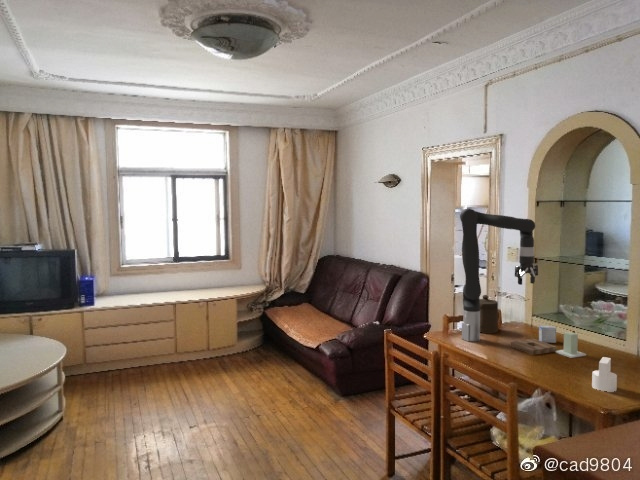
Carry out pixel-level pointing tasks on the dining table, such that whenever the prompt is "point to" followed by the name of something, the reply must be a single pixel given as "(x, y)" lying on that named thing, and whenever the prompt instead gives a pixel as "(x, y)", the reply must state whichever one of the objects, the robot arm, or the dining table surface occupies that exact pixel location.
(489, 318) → the wooden container
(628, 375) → the dining table surface
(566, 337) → the green block
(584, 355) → the tile
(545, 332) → the medicine box
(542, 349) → the pocket board
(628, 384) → the dining table surface
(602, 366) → the cylinder with rectangular tab
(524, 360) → the dining table surface
